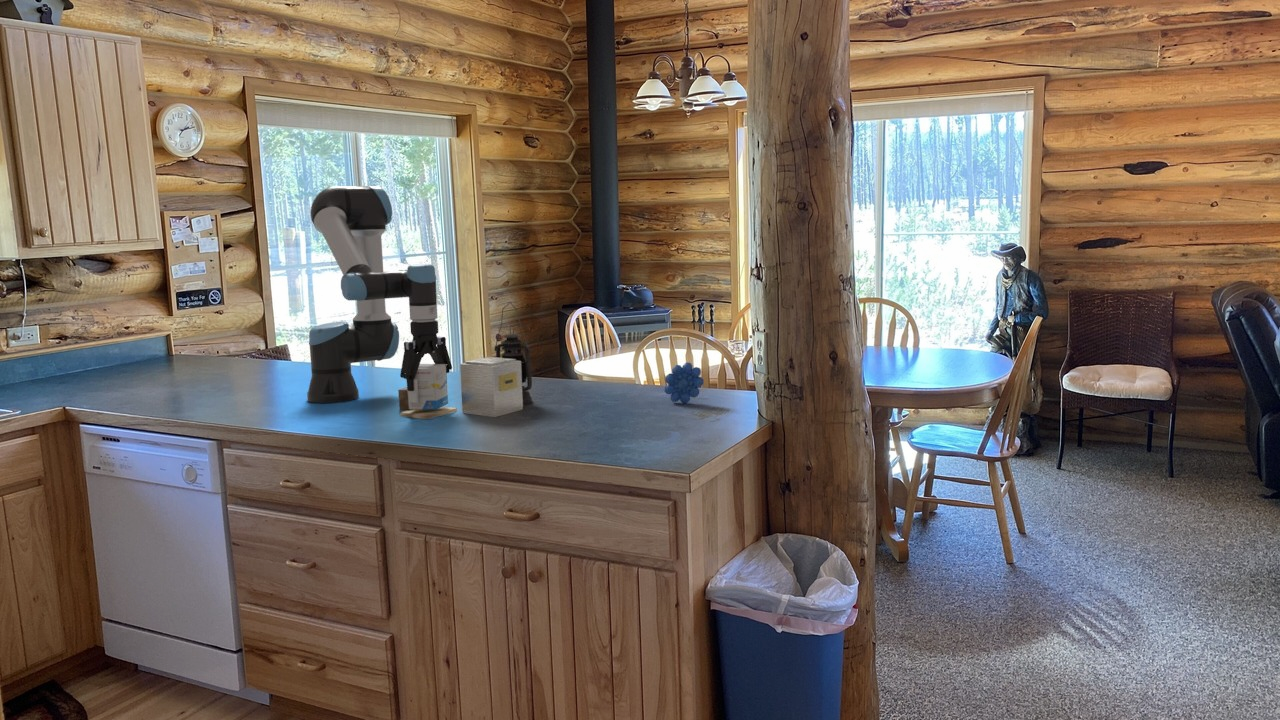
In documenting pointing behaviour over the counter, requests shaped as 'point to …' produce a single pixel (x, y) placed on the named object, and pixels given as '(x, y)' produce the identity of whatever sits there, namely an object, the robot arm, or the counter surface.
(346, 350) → the robot arm
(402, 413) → the board
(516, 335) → the lantern
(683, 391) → the blue flower
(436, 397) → the ink box
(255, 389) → the counter surface
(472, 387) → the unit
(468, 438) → the counter surface
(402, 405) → the walnut block
